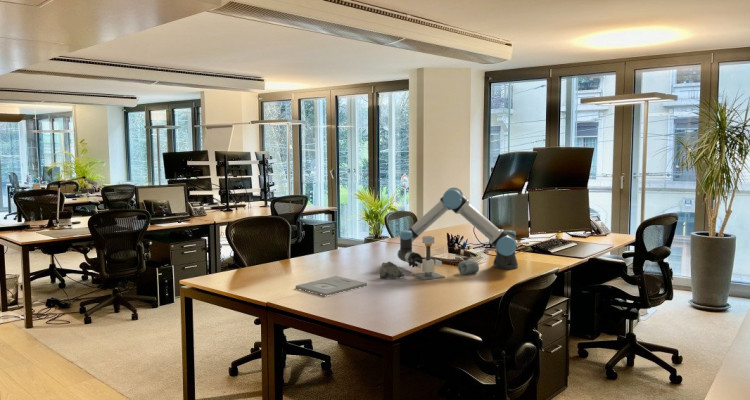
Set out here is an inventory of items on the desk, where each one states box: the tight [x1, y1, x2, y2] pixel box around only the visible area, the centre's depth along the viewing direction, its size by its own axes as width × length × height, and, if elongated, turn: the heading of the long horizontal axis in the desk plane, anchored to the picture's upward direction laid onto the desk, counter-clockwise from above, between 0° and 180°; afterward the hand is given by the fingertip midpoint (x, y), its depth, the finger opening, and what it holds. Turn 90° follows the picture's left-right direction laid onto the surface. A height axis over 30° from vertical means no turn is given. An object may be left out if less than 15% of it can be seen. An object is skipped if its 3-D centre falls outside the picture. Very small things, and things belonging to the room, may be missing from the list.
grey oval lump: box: [457, 259, 480, 276], centre depth 338 cm, size 14×10×10 cm
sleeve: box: [421, 259, 435, 273], centre depth 331 cm, size 5×5×7 cm
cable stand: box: [411, 235, 446, 281], centre depth 330 cm, size 14×14×23 cm
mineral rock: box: [379, 261, 405, 279], centre depth 326 cm, size 13×11×10 cm
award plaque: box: [295, 275, 368, 296], centre depth 308 cm, size 25×30×2 cm
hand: (431, 265), depth 328 cm, fingers open, 13 cm apart
